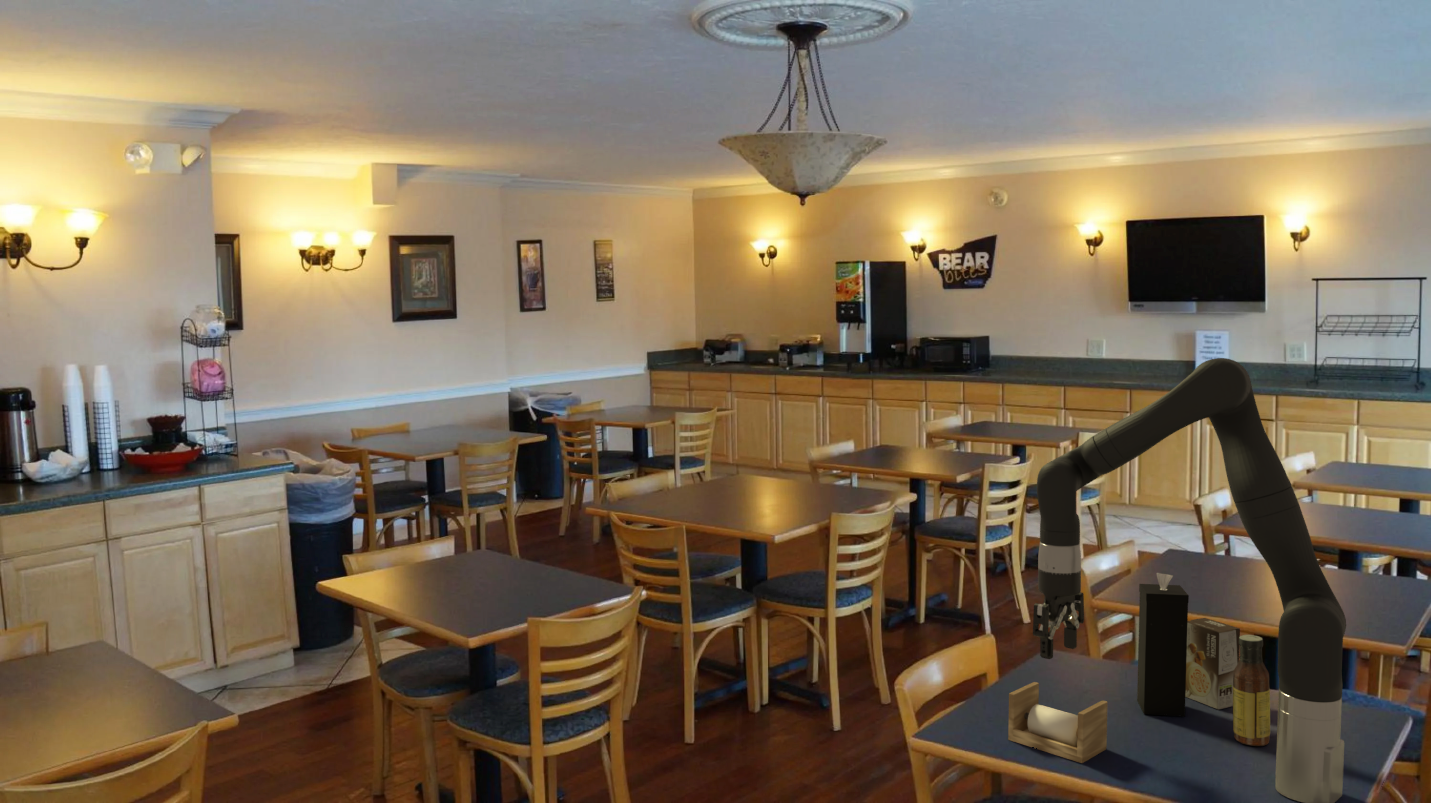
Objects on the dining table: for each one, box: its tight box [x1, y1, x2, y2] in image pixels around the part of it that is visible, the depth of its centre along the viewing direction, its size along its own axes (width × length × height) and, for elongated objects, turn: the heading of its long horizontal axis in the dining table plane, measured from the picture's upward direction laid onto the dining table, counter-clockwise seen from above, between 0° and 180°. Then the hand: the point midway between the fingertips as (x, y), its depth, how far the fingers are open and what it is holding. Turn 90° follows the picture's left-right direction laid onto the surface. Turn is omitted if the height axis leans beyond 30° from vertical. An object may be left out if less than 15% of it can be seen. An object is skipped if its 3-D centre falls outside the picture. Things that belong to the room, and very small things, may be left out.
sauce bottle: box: [1232, 634, 1271, 747], centre depth 204 cm, size 6×6×20 cm
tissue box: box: [1136, 572, 1190, 717], centre depth 220 cm, size 8×8×28 cm
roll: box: [1028, 704, 1078, 747], centre depth 203 cm, size 10×6×6 cm, turn 44°
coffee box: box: [1185, 617, 1241, 710], centre depth 225 cm, size 9×6×16 cm
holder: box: [1007, 681, 1109, 764], centre depth 203 cm, size 15×9×9 cm, turn 43°
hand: (1058, 652), depth 202 cm, fingers open, 8 cm apart
